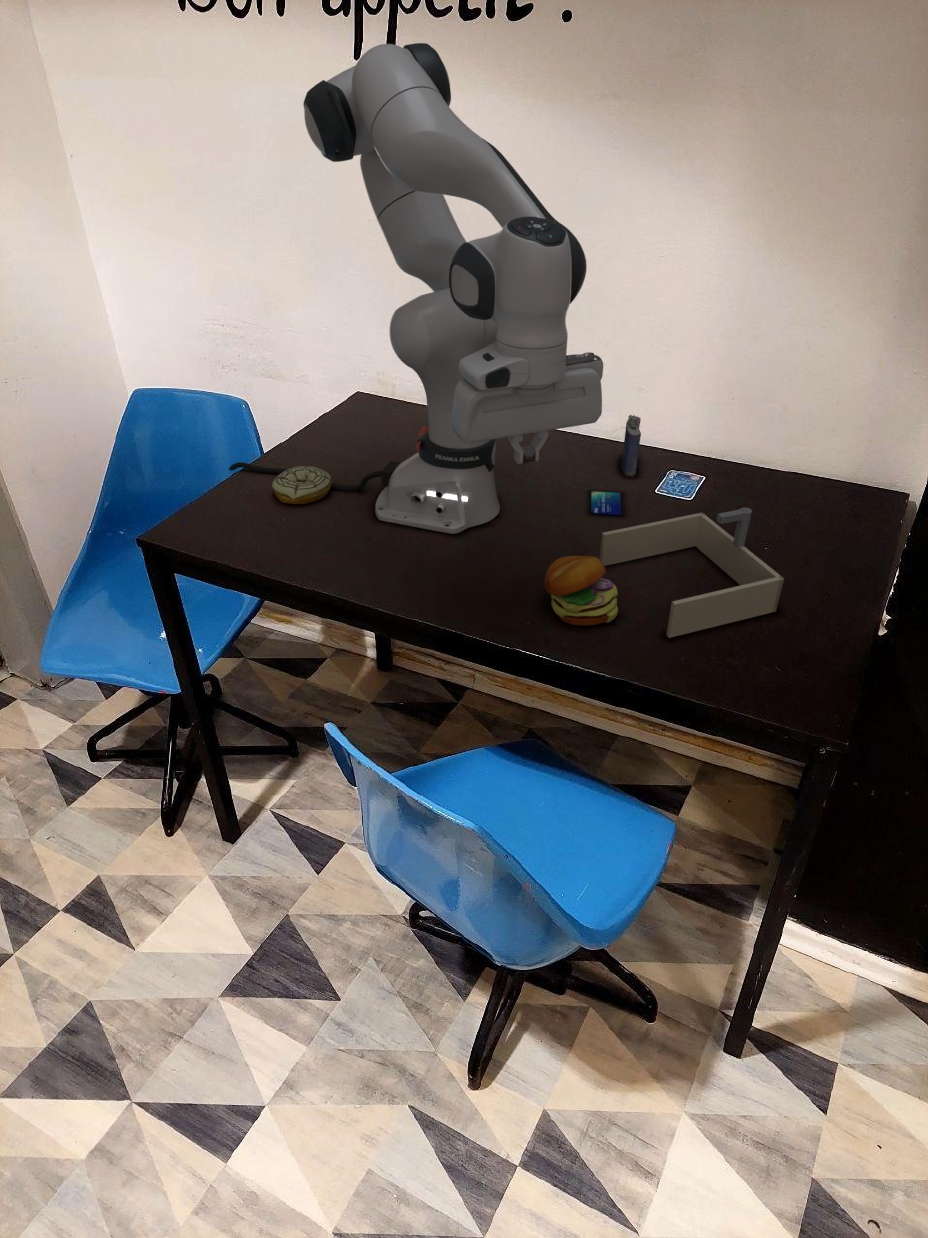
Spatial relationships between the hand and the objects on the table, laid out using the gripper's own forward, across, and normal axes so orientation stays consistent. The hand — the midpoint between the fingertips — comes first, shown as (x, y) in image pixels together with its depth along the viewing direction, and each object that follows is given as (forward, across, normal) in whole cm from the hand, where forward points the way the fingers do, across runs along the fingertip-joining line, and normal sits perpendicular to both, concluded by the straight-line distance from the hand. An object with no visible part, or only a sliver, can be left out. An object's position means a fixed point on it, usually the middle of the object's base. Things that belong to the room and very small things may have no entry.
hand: (526, 461), depth 119 cm
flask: (+25, -40, -38) cm, 61 cm away
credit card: (+25, -29, -26) cm, 46 cm away
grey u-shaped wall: (+25, -27, +3) cm, 37 cm away
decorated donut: (+25, +22, -50) cm, 60 cm away
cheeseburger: (+25, -9, +3) cm, 27 cm away
